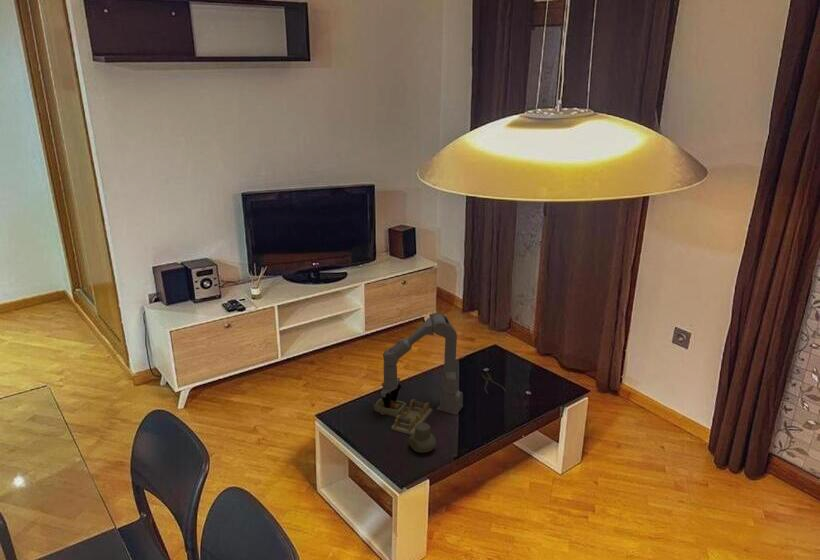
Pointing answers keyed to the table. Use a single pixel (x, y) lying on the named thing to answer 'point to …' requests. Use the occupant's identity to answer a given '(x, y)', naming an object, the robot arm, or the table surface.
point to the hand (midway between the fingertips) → (390, 403)
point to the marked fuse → (392, 406)
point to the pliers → (491, 381)
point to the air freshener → (422, 438)
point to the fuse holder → (413, 413)
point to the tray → (388, 410)
